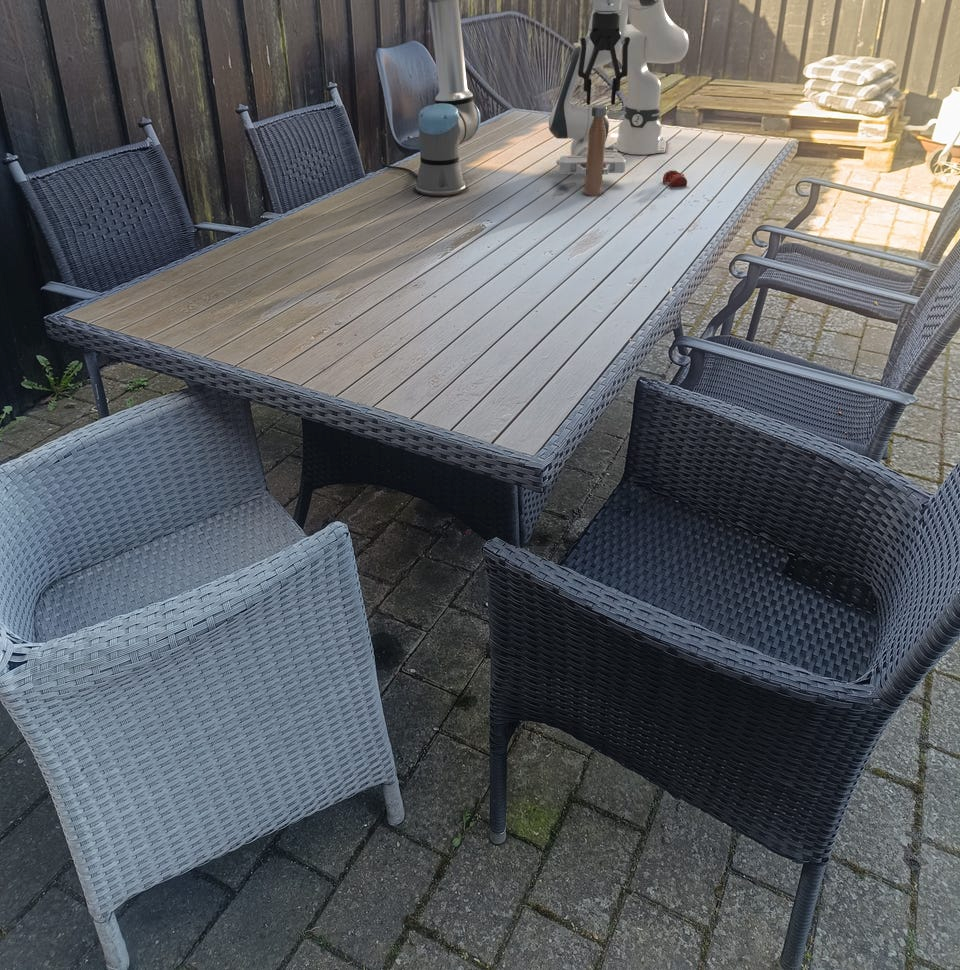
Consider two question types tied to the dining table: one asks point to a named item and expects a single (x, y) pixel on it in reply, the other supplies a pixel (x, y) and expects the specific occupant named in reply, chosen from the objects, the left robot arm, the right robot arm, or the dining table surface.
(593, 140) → the bottle
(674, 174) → the dental model
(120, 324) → the dining table surface
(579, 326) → the dining table surface
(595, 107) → the cap
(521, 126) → the dining table surface
